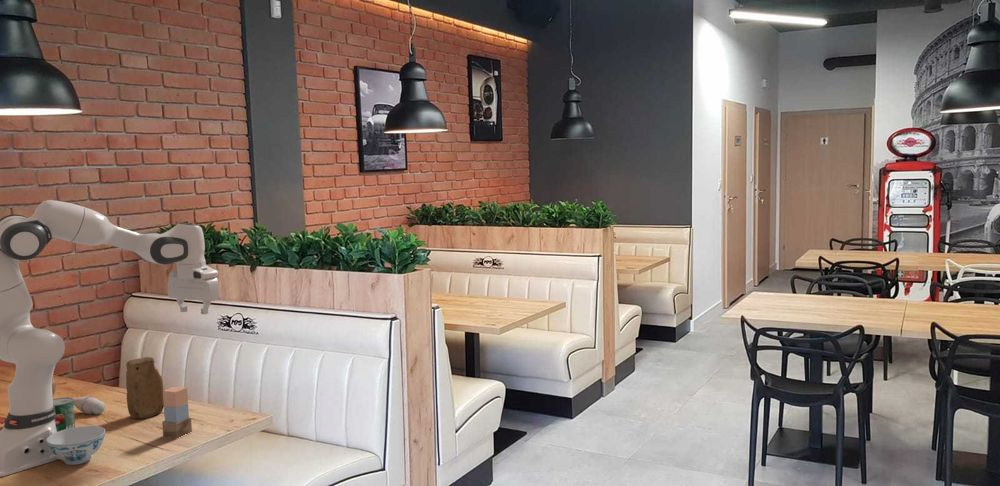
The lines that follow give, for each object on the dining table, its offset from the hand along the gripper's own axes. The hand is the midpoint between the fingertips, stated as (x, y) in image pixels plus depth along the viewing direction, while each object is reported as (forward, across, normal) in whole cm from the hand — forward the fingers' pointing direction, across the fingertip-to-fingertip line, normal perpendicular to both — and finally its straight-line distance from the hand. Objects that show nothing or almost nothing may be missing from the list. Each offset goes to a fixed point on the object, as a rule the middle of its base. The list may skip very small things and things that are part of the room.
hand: (194, 312), depth 246 cm
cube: (+27, +3, -12) cm, 30 cm away
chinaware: (+37, -7, -39) cm, 54 cm away
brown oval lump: (+37, -22, -3) cm, 43 cm away
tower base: (+37, +3, -12) cm, 39 cm away
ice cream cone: (+37, -44, -10) cm, 59 cm away
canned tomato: (+37, -32, -27) cm, 56 cm away
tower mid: (+32, +3, -12) cm, 35 cm away
